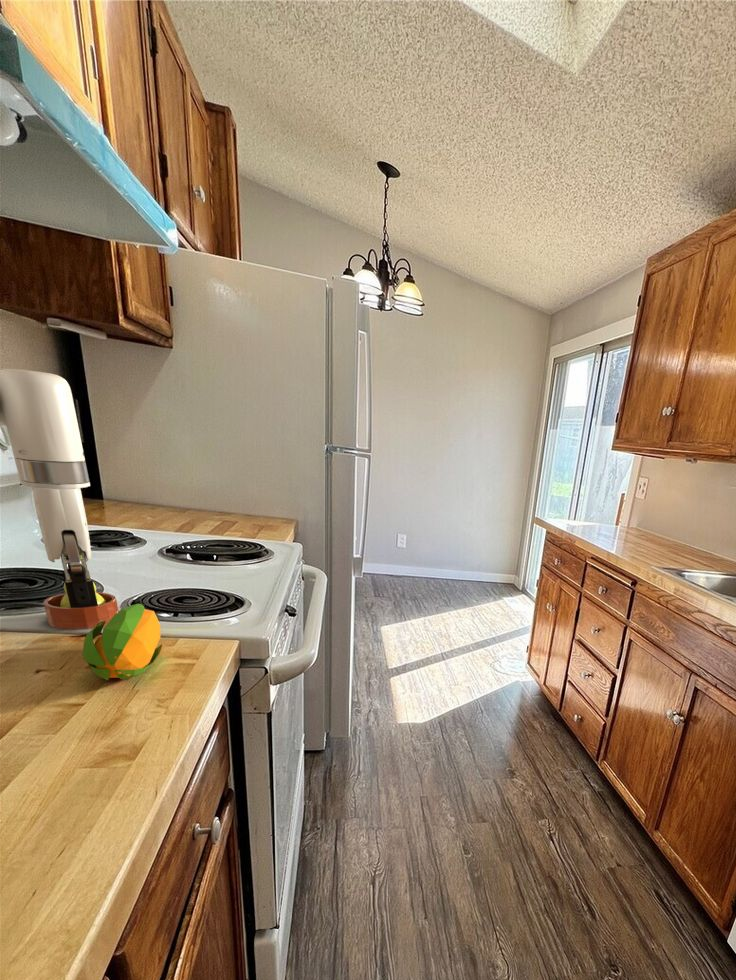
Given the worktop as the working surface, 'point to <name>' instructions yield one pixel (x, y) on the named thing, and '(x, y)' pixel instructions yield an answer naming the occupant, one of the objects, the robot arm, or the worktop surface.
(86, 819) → the worktop surface
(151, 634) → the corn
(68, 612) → the bowl
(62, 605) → the pear
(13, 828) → the worktop surface
